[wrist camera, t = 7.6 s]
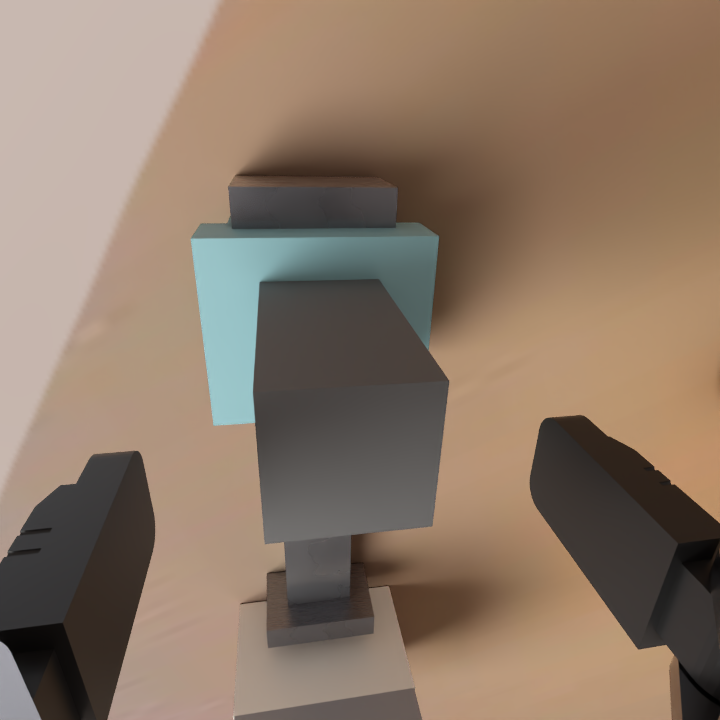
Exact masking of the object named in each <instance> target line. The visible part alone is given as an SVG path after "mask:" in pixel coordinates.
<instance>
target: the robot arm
mask: <svg viewBox="0 0 720 720" xmlns="http://www.w3.org/2000/svg"><path fill="white" fill-rule="evenodd" d="M530 491H531V495H532V499H533V501H534V504H535V506H536V507H537V509H538V510H539V512H540V513H541V515H542V516H543V517H544V519H545V520H546V522H547V523H548V524H549V526H550V527H551V529H552V530H553V531H554V533H555V534H556V536H557V537H558V538H559V540H560V541H561V542H562V544H563V545H564V547H565V548H566V549H567V551H568V552H569V554H570V555H571V556H572V558H573V559H574V561H575V562H576V563H577V565H578V566H579V568H580V569H581V570H582V572H583V573H584V575H585V576H586V577H587V579H588V580H589V582H590V583H591V584H592V586H593V587H594V588H595V590H596V591H597V593H598V594H599V595H600V597H601V598H602V600H603V601H604V602H605V604H606V605H607V607H608V608H609V609H610V611H611V612H612V614H613V615H614V616H615V618H616V619H617V621H618V622H619V623H620V625H621V626H622V628H623V629H624V630H625V632H626V633H627V635H628V636H629V637H630V639H631V640H632V641H633V643H634V644H635V646H636V647H637V648H638V649H644V648H650V647H656V646H662V645H667V646H668V647H669V649H670V650H671V651H672V653H673V654H674V656H673V659H672V661H671V664H670V669H669V675H670V695H671V715H672V720H720V523H719V522H718V521H716V520H715V519H714V518H713V517H712V516H711V515H709V514H708V513H707V512H706V511H705V510H704V509H702V508H701V507H700V506H699V505H698V504H697V503H696V502H694V501H693V500H692V499H691V498H690V497H689V496H687V495H686V494H685V493H684V492H683V491H682V490H681V489H679V488H678V487H677V486H676V485H671V483H670V480H669V479H668V478H667V477H666V476H664V475H663V474H662V473H661V472H660V471H659V470H655V469H654V466H653V465H652V464H651V463H649V462H648V461H647V460H646V459H645V458H644V457H642V456H641V455H640V454H639V453H638V452H637V451H635V450H634V449H632V448H630V447H628V446H626V445H624V444H623V443H621V442H619V441H617V440H615V439H613V438H611V437H608V436H607V435H606V434H604V433H603V432H602V431H601V430H600V429H599V428H598V427H597V426H595V425H594V424H593V423H592V422H591V421H590V420H589V419H588V418H586V417H585V416H582V415H576V416H564V417H552V418H546V419H544V420H543V422H542V423H541V426H540V429H539V434H538V439H537V444H536V449H535V455H534V460H533V465H532V470H531V475H530ZM20 532H21V533H20V536H17V537H16V539H15V540H14V542H13V544H12V545H11V547H10V549H9V550H8V556H7V557H4V558H3V560H2V562H1V563H0V720H107V719H108V715H109V711H110V707H111V704H112V700H113V696H114V693H115V689H116V685H117V682H118V678H119V674H120V671H121V667H122V663H123V659H124V656H125V652H126V648H127V645H128V641H129V637H130V634H131V630H132V626H133V622H134V619H135V615H136V611H137V608H138V604H139V600H140V597H141V593H142V589H143V586H144V582H145V578H146V574H147V571H148V567H149V563H150V560H151V556H152V552H153V548H154V541H155V519H154V512H153V507H152V503H151V498H150V493H149V488H148V483H147V478H146V473H145V469H144V464H143V459H142V456H141V454H140V453H139V452H138V451H128V452H116V453H104V454H94V455H92V456H91V458H90V459H89V461H88V463H87V465H86V466H85V468H84V470H83V472H82V474H81V476H80V477H79V479H78V481H77V483H76V484H70V485H60V486H59V487H58V488H57V489H56V490H54V491H53V492H52V493H51V494H50V495H49V496H47V497H46V498H45V499H44V500H43V501H41V502H40V503H39V504H38V505H37V506H36V507H35V508H34V510H33V511H32V513H31V514H30V516H29V518H28V519H27V521H26V523H25V524H24V526H23V527H22V529H21V531H20Z"/></svg>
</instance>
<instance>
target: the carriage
mask: <svg viewBox="0 0 720 720" xmlns="http://www.w3.org/2000/svg"><path fill="white" fill-rule="evenodd" d="M438 243H439V236H438V235H437V234H435V233H434V232H432V231H431V230H429V229H428V228H426V227H425V226H423V225H422V224H420V223H396V228H313V229H232V224H231V216H230V218H229V220H228V223H226V224H200V226H199V227H198V229H197V230H196V232H195V233H194V235H193V236H192V238H191V245H192V253H193V261H194V269H195V277H196V285H197V293H198V302H199V310H200V318H201V326H202V334H203V342H204V351H205V359H206V367H207V375H208V383H209V391H210V399H211V408H212V416H213V424H214V426H215V425H230V424H245V423H255V426H256V439H257V452H258V464H259V477H260V489H261V502H262V515H263V527H264V540H265V544H270V543H280V542H289V541H299V540H308V539H318V538H327V537H337V536H346V535H356V534H365V533H375V532H384V531H393V530H403V529H412V528H422V527H431V526H432V525H433V516H434V508H435V499H436V490H437V482H438V473H439V465H440V456H441V447H442V439H443V430H444V421H445V413H446V404H447V396H448V387H449V380H448V378H447V377H446V376H445V374H444V373H443V371H442V370H441V368H440V367H439V365H438V364H437V363H436V361H435V360H434V358H433V357H432V355H431V354H430V352H429V340H430V329H431V318H432V307H433V297H434V286H435V275H436V264H437V254H438Z"/></svg>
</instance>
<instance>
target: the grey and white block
mask: <svg viewBox="0 0 720 720" xmlns="http://www.w3.org/2000/svg"><path fill="white" fill-rule="evenodd" d="M368 589H369V593H370V598H371V603H372V607H373V612H374V634H367V635H360V636H352V637H345V638H338V639H331V640H324V641H316V642H309V643H302V644H295V645H287V646H280V647H273V648H268V642H267V601H263V602H255V603H247V604H240V613H239V629H238V646H237V662H236V679H235V695H234V712H233V718H234V720H422V717H421V714H420V710H419V706H418V702H417V698H416V694H415V686H414V682H413V678H412V674H411V670H410V666H409V662H408V658H407V654H406V651H405V647H404V643H403V639H402V635H401V631H400V627H399V623H398V619H397V616H396V612H395V608H394V604H393V600H392V596H391V592H390V588H389V586H384V587H376V588H368Z"/></svg>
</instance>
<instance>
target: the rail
mask: <svg viewBox="0 0 720 720" xmlns="http://www.w3.org/2000/svg"><path fill="white" fill-rule="evenodd" d="M228 189H229V201H230V213H231V224H232V229H313V228H396V215H397V197H398V187H396V186H394V185H392V184H390V183H388V182H386V181H384V180H382V179H380V178H379V177H333V176H235V177H234V178H233V180H232V181H231V183H230V185H229V186H228ZM284 545H285V563H286V572H278V573H269V574H267V642H268V648H273V647H280V646H287V645H295V644H302V643H309V642H316V641H324V640H331V639H338V638H345V637H352V636H360V635H367V634H374V612H373V607H372V603H371V598H370V593H369V589H368V584H367V579H366V574H365V570H364V565H363V563H356V564H351V535H346V536H337V537H327V538H318V539H308V540H299V541H289V542H284Z"/></svg>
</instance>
